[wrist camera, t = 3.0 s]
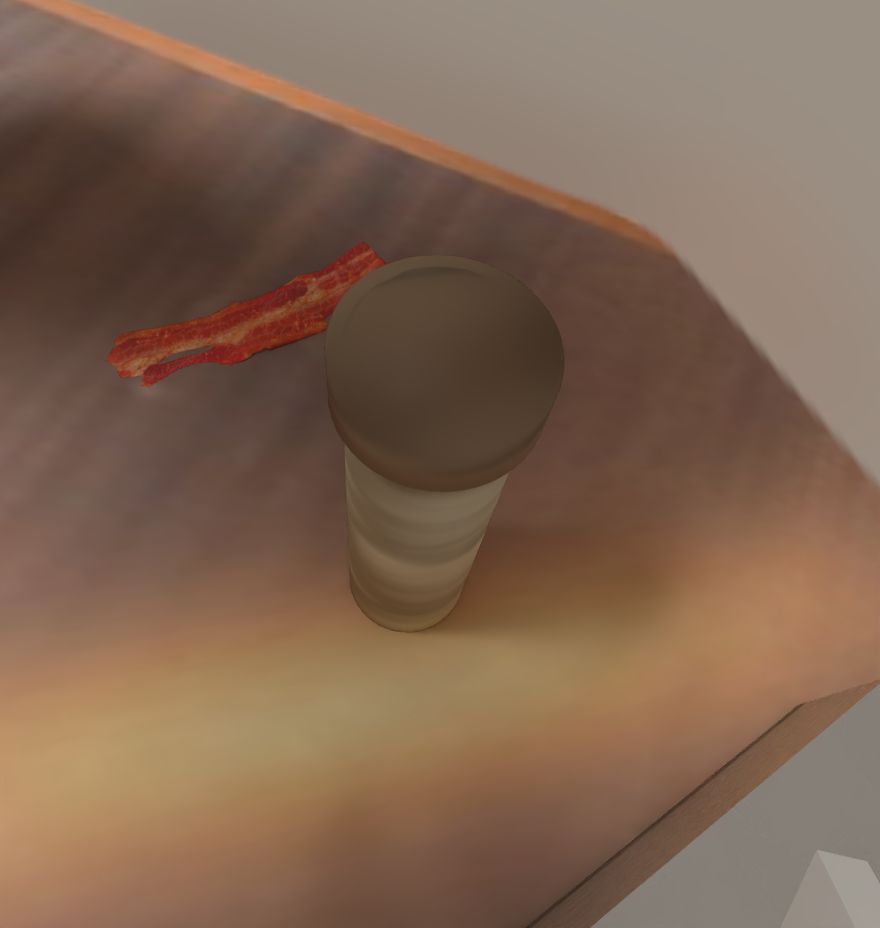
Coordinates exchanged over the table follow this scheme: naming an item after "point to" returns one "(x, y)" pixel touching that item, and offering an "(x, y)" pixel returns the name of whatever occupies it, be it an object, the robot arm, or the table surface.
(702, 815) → the block
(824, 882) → the robot arm
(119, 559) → the table surface
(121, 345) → the bacon strip
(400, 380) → the beige cylinder
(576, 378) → the table surface
